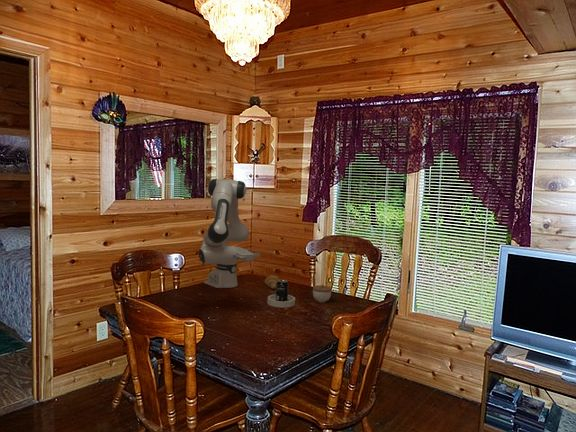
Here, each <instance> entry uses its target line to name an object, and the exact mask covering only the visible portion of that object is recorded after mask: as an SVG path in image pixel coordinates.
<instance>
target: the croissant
mask: <svg viewBox="0 0 576 432" xmlns="http://www.w3.org/2000/svg"><path fill="white" fill-rule="evenodd" d="M280 279H281V278H280V277H279V276H277V275H275V274H272V275H269V276H267V277H266V278H265V279H264V283H265V285H266V286H267V287H269V288H270V289H272V290H276V283H277V280H280Z"/></svg>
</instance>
